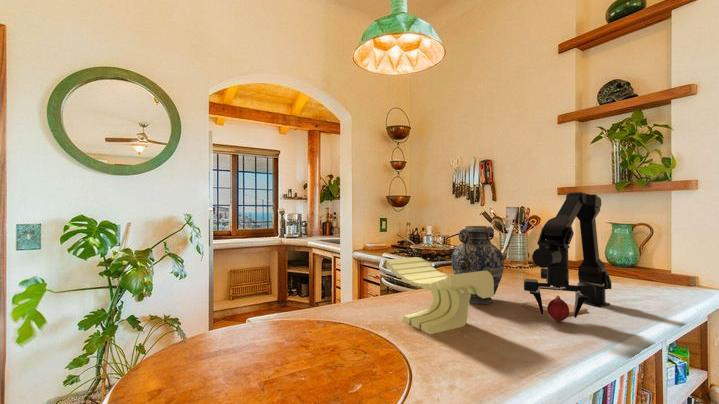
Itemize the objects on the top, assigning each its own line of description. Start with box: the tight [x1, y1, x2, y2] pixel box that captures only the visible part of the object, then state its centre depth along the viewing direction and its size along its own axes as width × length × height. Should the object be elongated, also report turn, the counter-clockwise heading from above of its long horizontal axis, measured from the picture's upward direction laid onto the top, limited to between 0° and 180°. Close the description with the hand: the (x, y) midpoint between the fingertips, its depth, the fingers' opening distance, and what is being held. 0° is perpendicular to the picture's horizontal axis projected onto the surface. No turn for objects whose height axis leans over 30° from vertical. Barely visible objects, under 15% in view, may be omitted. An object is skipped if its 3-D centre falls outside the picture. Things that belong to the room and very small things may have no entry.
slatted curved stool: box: [386, 256, 495, 335], centre depth 104 cm, size 30×16×18 cm, turn 29°
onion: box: [547, 295, 570, 323], centre depth 104 cm, size 6×6×8 cm
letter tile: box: [521, 298, 588, 316], centre depth 117 cm, size 14×14×1 cm
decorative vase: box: [451, 225, 505, 305], centre depth 128 cm, size 21×19×28 cm
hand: (558, 315), depth 104 cm, fingers open, 8 cm apart
